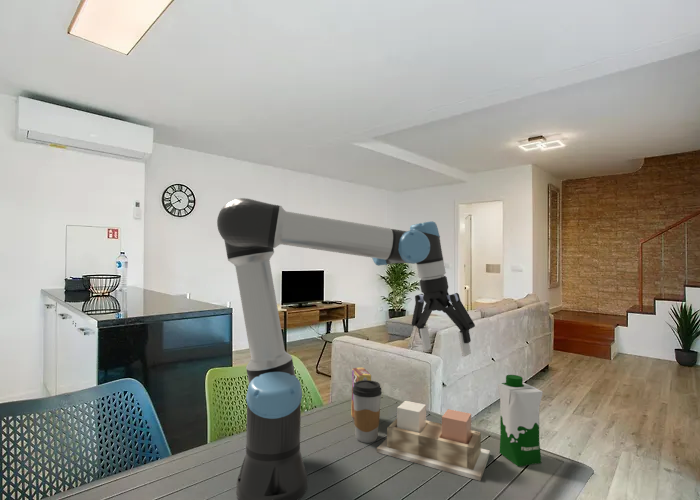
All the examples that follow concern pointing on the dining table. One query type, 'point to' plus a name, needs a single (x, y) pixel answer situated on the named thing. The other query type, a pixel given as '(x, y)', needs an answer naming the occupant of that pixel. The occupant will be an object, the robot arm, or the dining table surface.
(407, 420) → the white block
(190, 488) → the dining table surface
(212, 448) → the dining table surface
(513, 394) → the milk carton
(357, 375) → the candy box
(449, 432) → the salmon pink block
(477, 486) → the dining table surface
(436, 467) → the housing
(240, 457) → the dining table surface
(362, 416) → the coffee cup
